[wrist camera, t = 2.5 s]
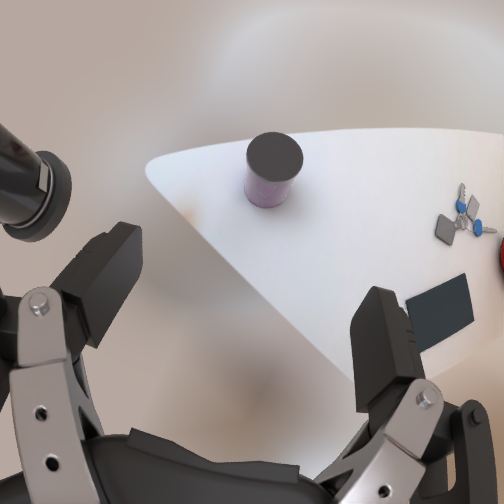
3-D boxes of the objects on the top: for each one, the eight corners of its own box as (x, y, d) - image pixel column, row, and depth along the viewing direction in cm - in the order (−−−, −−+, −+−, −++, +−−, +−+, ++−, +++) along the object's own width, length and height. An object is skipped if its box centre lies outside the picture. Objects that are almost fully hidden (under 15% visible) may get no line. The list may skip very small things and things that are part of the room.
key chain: (437, 248, 33) (440, 247, 32) (421, 188, 34) (424, 186, 33) (495, 233, 34) (498, 232, 33) (481, 182, 35) (484, 181, 34)
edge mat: (416, 353, 31) (417, 354, 30) (405, 300, 32) (406, 300, 31) (472, 320, 32) (474, 320, 31) (463, 273, 33) (465, 273, 32)
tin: (250, 214, 32) (255, 187, 24) (238, 173, 33) (239, 137, 25) (294, 203, 33) (311, 175, 25) (280, 163, 33) (292, 127, 25)
